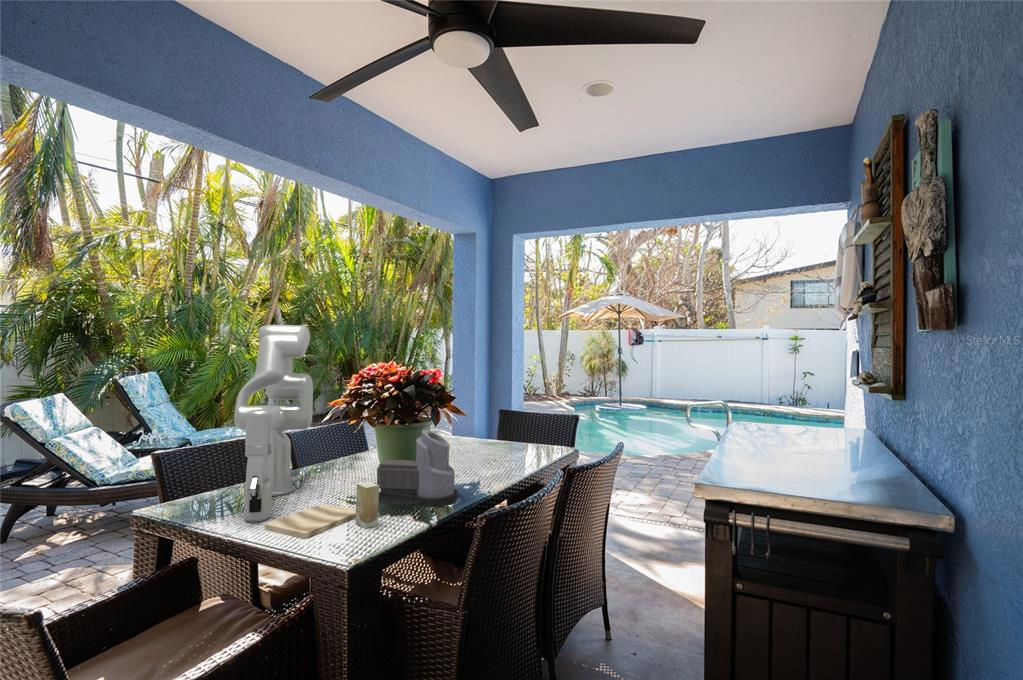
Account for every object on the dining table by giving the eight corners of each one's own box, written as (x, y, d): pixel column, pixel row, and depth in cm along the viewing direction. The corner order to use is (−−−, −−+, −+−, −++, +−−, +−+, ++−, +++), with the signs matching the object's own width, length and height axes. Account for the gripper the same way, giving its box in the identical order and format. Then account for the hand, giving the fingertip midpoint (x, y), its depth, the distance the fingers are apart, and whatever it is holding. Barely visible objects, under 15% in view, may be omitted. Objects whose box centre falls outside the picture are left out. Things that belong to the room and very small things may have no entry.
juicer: (465, 495, 194) (466, 427, 194) (456, 509, 178) (457, 434, 178) (385, 491, 198) (386, 424, 198) (368, 504, 182) (369, 431, 182)
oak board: (321, 508, 176) (321, 504, 176) (359, 516, 169) (360, 511, 169) (264, 529, 156) (264, 524, 156) (305, 538, 149) (305, 533, 149)
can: (264, 513, 170) (264, 475, 170) (276, 518, 166) (276, 479, 166) (239, 519, 165) (240, 479, 165) (251, 524, 160) (251, 484, 160)
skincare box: (354, 523, 163) (355, 482, 163) (367, 520, 166) (368, 480, 166) (365, 529, 158) (366, 487, 158) (378, 525, 161) (379, 484, 161)
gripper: (251, 444, 172) (250, 500, 173) (238, 456, 156) (237, 518, 156) (277, 444, 174) (276, 498, 174) (266, 455, 157) (265, 516, 158)
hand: (258, 507), depth 165 cm, fingers closed on can, 7 cm apart
